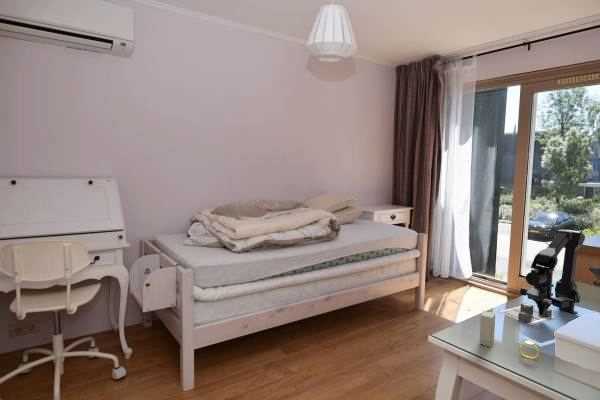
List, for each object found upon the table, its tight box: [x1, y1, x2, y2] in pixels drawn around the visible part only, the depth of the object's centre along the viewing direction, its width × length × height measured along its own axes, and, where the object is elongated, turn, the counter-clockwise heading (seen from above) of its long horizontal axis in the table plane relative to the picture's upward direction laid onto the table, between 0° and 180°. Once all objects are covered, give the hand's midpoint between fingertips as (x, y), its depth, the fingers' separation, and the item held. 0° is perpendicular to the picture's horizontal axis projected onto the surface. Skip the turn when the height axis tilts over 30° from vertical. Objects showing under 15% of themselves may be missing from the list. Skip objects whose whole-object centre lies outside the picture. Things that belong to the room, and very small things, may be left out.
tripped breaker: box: [520, 302, 534, 315], centre depth 171 cm, size 3×4×5 cm
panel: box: [497, 305, 557, 326], centre depth 171 cm, size 18×16×4 cm
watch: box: [519, 340, 540, 360], centre depth 136 cm, size 6×3×6 cm, turn 52°
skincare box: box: [479, 310, 496, 348], centre depth 147 cm, size 6×4×12 cm
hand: (541, 315), depth 165 cm, fingers closed
